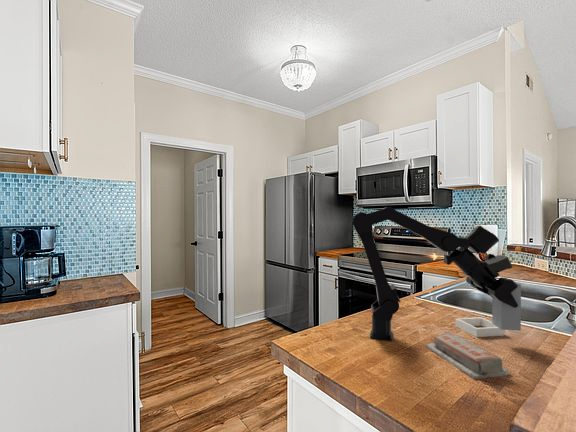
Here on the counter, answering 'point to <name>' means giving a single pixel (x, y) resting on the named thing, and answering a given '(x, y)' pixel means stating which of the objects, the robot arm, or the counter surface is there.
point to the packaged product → (467, 356)
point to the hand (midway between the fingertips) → (511, 304)
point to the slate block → (507, 312)
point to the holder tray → (488, 329)
